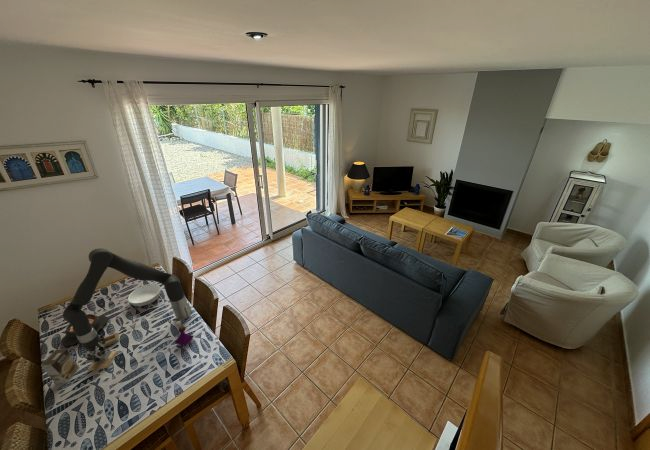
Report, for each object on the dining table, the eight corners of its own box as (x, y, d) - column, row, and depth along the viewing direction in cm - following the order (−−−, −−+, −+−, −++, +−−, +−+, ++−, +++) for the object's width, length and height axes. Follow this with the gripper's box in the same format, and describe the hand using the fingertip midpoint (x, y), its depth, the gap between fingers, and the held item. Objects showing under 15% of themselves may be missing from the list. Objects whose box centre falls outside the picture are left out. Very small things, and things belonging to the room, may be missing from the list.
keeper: (117, 352, 157) (113, 345, 154) (108, 367, 148) (103, 360, 145) (99, 354, 156) (94, 347, 153) (89, 370, 147) (84, 363, 144)
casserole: (101, 313, 184) (96, 305, 180) (115, 323, 176) (110, 315, 172) (56, 340, 165) (49, 331, 161) (70, 353, 157) (63, 343, 153)
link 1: (111, 352, 153) (109, 348, 152) (106, 360, 149) (104, 357, 147) (96, 354, 152) (94, 351, 151) (90, 362, 148) (88, 359, 146)
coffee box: (67, 383, 141) (52, 364, 133) (55, 384, 140) (39, 365, 133) (80, 367, 149) (67, 348, 141) (68, 367, 148) (54, 349, 141)
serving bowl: (155, 286, 209) (152, 280, 206) (168, 297, 198) (165, 290, 195) (126, 302, 194) (123, 295, 191) (138, 314, 183) (135, 307, 180)
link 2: (118, 335, 168) (117, 332, 166) (118, 341, 164) (117, 338, 162) (103, 341, 164) (101, 338, 162) (103, 347, 160) (101, 344, 158)
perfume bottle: (194, 339, 165) (187, 319, 157) (185, 349, 159) (177, 329, 150) (185, 336, 167) (178, 316, 159) (176, 345, 161) (167, 325, 153)
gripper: (87, 347, 136) (100, 366, 144) (103, 325, 149) (114, 344, 157) (71, 349, 135) (85, 369, 143) (88, 327, 148) (100, 346, 156)
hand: (100, 356), depth 150 cm, fingers closed on link 1, 5 cm apart
